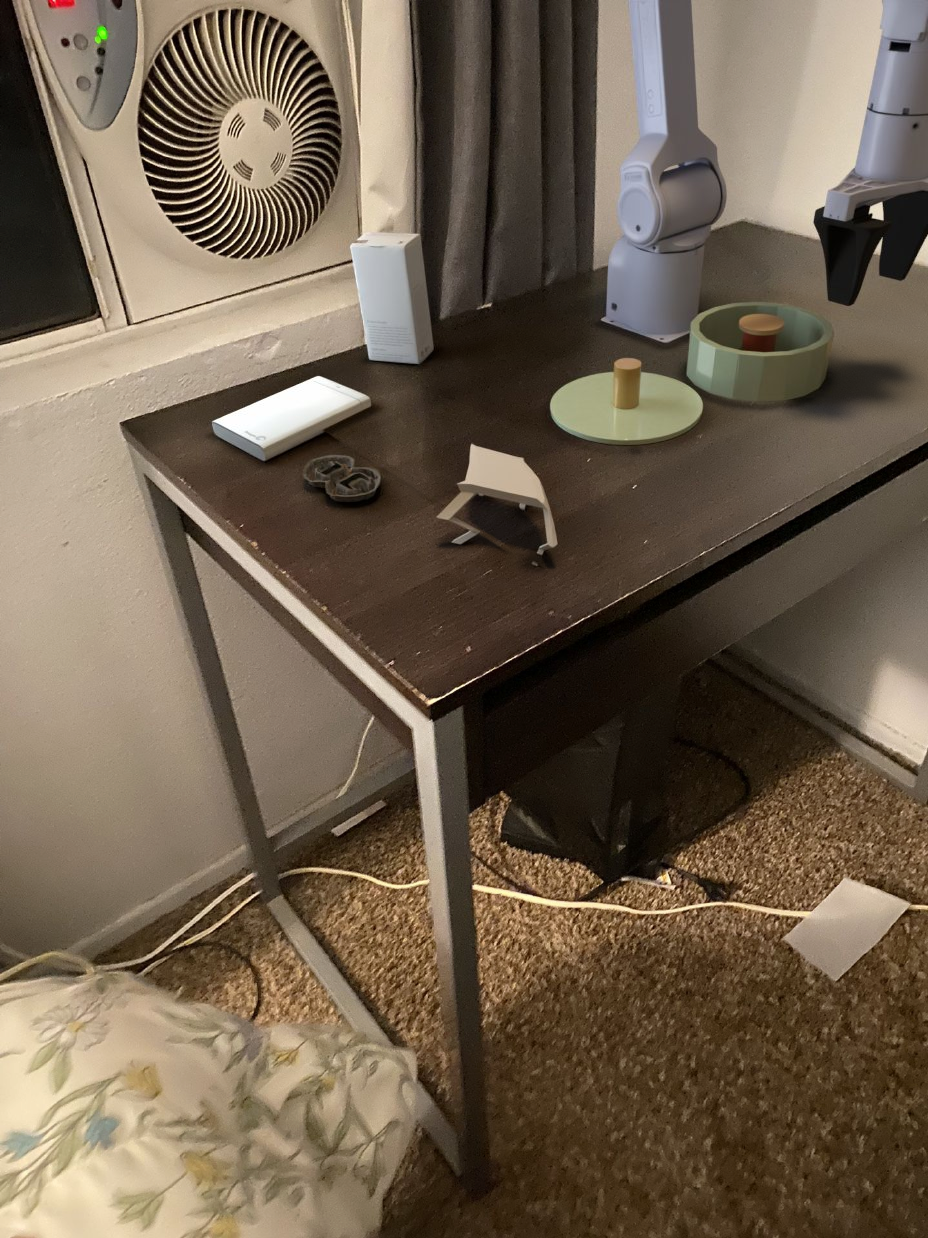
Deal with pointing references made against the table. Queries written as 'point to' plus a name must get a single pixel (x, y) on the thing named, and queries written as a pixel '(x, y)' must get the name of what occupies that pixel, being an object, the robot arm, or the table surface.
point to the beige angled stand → (499, 490)
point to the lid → (626, 406)
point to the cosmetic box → (393, 296)
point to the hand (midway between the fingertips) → (866, 289)
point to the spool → (760, 332)
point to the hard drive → (289, 417)
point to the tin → (759, 353)
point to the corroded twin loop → (342, 478)
